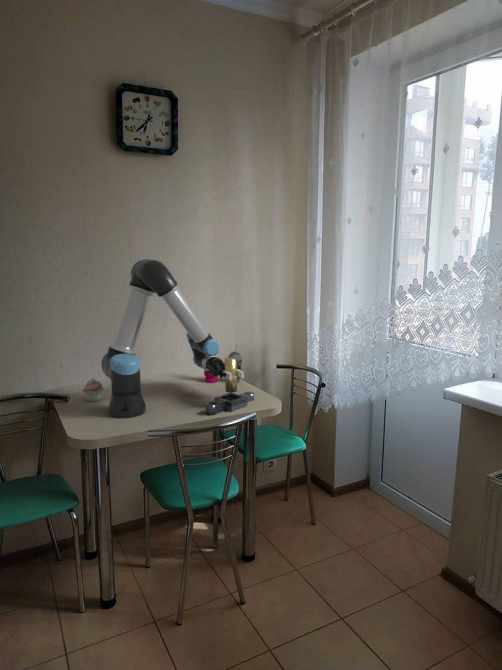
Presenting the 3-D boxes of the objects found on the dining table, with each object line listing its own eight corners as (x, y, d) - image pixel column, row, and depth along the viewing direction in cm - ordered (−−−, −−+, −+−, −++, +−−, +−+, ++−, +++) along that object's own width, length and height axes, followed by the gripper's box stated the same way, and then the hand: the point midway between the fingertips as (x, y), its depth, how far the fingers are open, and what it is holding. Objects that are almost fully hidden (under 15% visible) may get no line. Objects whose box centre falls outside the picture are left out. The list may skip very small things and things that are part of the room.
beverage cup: (233, 379, 251) (232, 341, 247) (245, 381, 247) (245, 342, 244) (225, 382, 245) (224, 343, 241) (237, 384, 241) (237, 345, 237)
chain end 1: (216, 417, 195) (215, 408, 194) (198, 412, 202) (198, 403, 201) (247, 405, 210) (247, 396, 209) (230, 401, 216) (230, 392, 215)
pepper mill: (217, 383, 244) (217, 344, 240) (203, 383, 244) (202, 344, 240) (219, 379, 251) (218, 341, 247) (205, 379, 251) (204, 341, 247)
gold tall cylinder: (231, 393, 205) (230, 360, 202) (222, 390, 208) (222, 359, 205) (239, 390, 208) (238, 358, 206) (230, 388, 211) (230, 356, 209)
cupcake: (108, 397, 222) (107, 375, 220) (99, 403, 213) (97, 381, 211) (89, 396, 223) (87, 375, 222) (79, 402, 214) (77, 380, 213)
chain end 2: (231, 411, 202) (231, 404, 202) (214, 406, 208) (214, 399, 208) (261, 400, 216) (261, 394, 216) (244, 396, 223) (244, 389, 222)
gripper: (230, 369, 227) (255, 381, 207) (194, 375, 218) (217, 388, 198) (230, 354, 226) (255, 364, 206) (194, 358, 217) (216, 370, 197)
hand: (236, 376), depth 202 cm, fingers closed on gold tall cylinder, 5 cm apart
